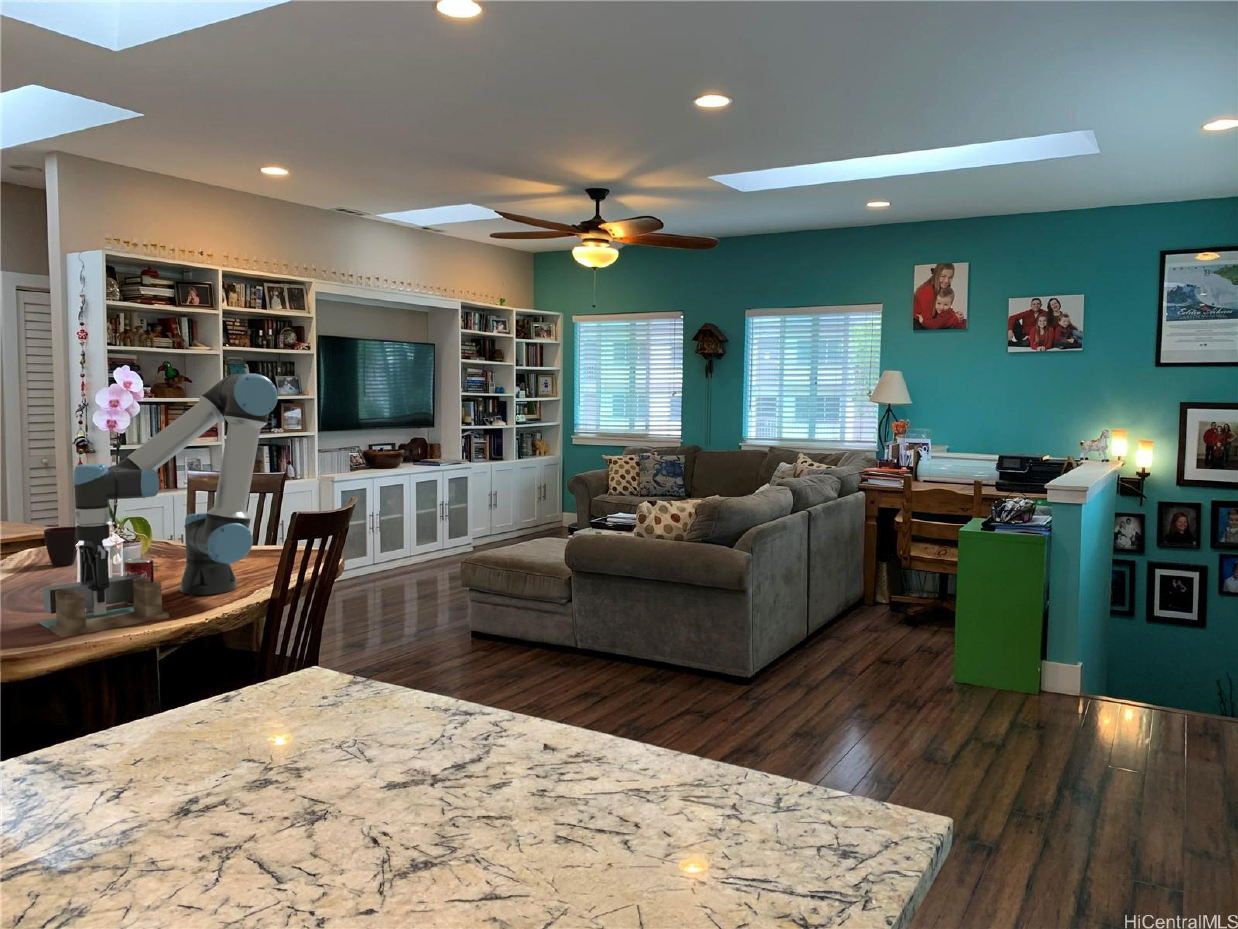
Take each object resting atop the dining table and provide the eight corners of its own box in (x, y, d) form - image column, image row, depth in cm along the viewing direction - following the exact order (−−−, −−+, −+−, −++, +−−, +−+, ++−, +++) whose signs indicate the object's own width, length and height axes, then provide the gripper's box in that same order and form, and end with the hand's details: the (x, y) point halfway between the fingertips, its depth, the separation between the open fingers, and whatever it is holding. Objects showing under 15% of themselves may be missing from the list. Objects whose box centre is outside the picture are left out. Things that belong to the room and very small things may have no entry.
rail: (136, 595, 244) (135, 574, 243) (143, 599, 241) (143, 576, 240) (44, 610, 227) (43, 587, 227) (50, 614, 224) (49, 590, 224)
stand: (155, 612, 240) (154, 576, 239) (169, 617, 235) (167, 581, 234) (49, 630, 221) (47, 591, 220) (61, 637, 216) (59, 597, 215)
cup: (44, 569, 292) (42, 532, 291) (48, 561, 304) (46, 526, 303) (79, 566, 297) (78, 530, 296) (82, 559, 309) (80, 524, 308)
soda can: (142, 606, 246) (140, 563, 245) (119, 605, 247) (117, 562, 246) (160, 600, 253) (159, 558, 252) (138, 598, 254) (136, 557, 253)
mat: (139, 606, 246) (139, 605, 246) (149, 611, 241) (149, 609, 241) (39, 623, 228) (39, 622, 228) (48, 628, 223) (48, 627, 223)
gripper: (64, 521, 235) (67, 609, 237) (89, 529, 223) (93, 621, 226) (95, 518, 241) (98, 604, 243) (122, 526, 229) (125, 615, 231)
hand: (95, 612), depth 234 cm, fingers closed on rail, 5 cm apart
